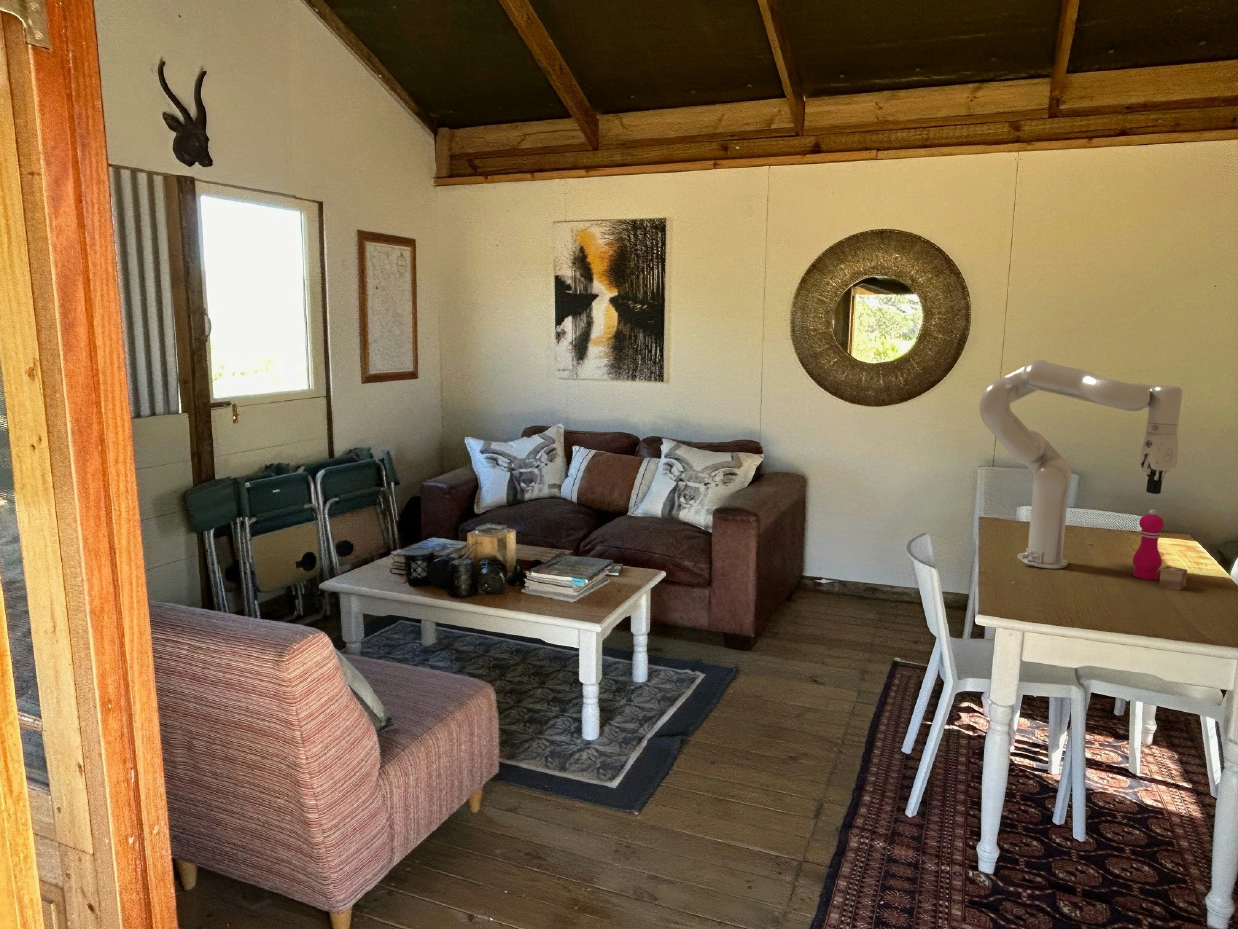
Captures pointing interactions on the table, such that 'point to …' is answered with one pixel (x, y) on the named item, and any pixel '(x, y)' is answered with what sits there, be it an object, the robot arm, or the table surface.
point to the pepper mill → (1148, 547)
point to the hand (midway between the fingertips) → (1153, 492)
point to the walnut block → (1173, 577)
